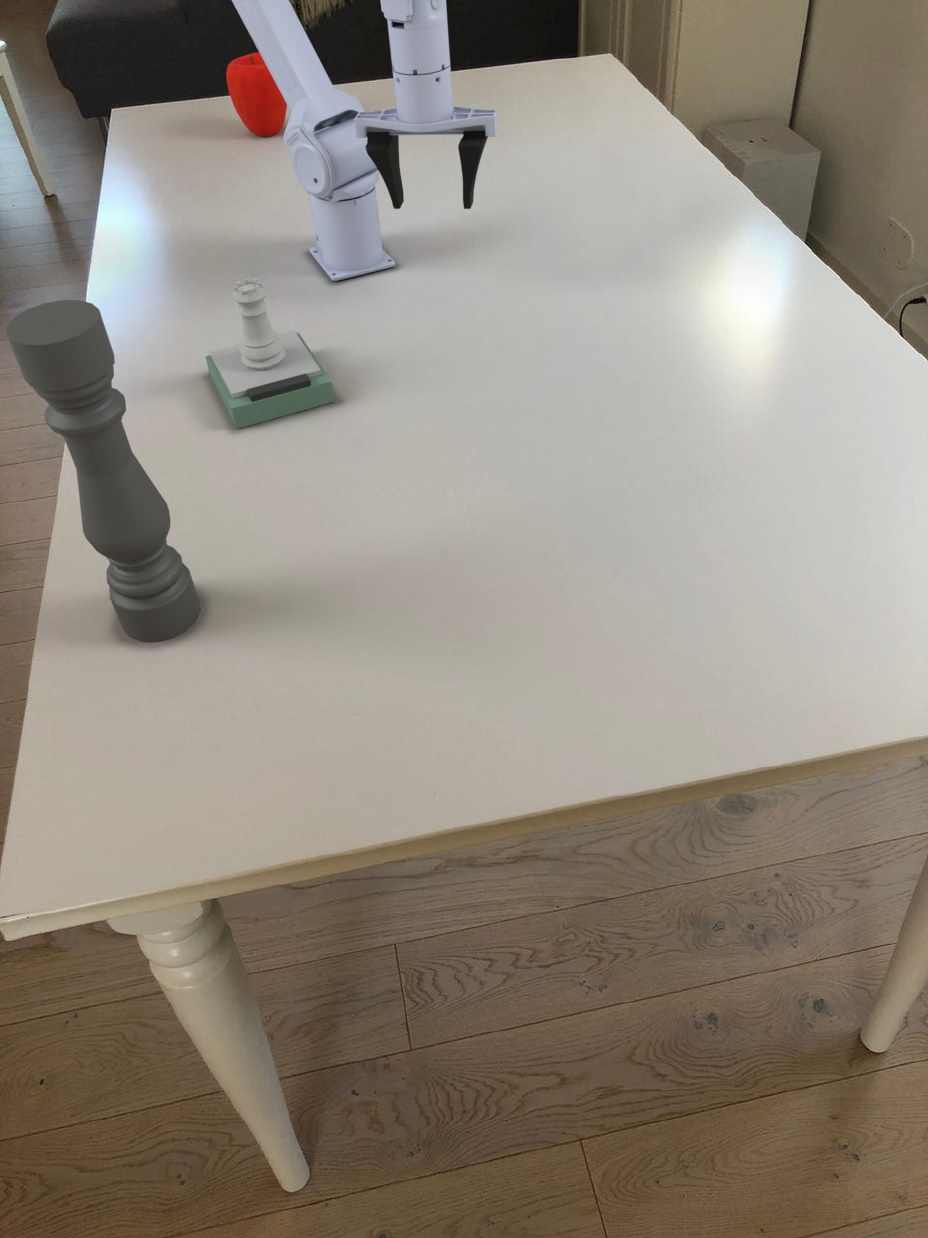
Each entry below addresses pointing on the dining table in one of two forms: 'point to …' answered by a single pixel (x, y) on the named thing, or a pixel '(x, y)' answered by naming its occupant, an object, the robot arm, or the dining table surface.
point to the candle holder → (106, 466)
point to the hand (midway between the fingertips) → (433, 205)
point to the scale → (270, 383)
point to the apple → (256, 95)
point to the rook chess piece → (257, 328)
